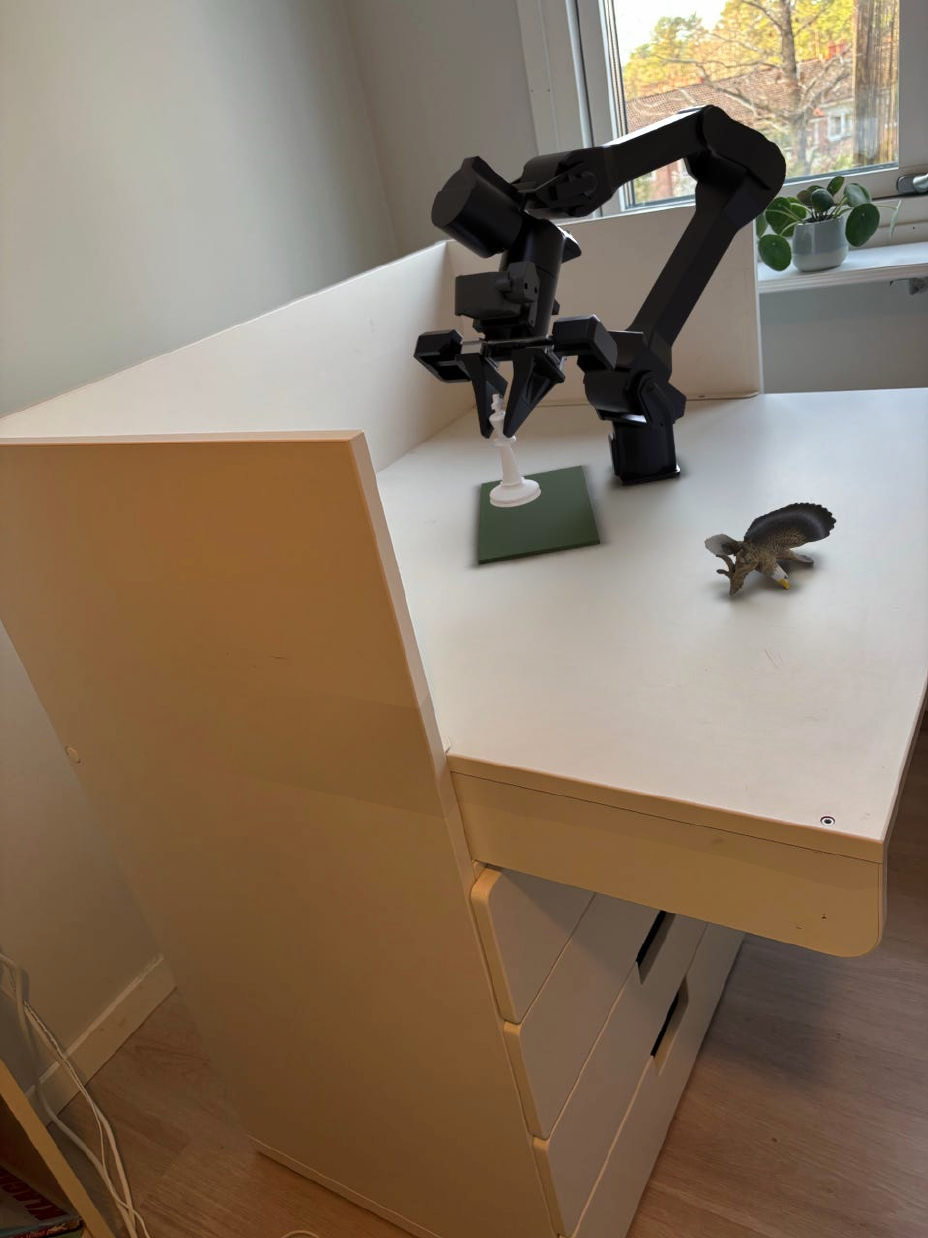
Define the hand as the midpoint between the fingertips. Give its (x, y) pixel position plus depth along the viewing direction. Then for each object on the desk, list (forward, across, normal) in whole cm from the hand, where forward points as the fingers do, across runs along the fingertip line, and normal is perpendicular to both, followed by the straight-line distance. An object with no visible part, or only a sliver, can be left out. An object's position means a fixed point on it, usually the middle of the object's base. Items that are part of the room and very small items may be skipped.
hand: (495, 436), depth 84 cm
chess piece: (+4, 0, +6) cm, 7 cm away
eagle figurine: (+10, +24, +8) cm, 27 cm away
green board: (+1, -4, +17) cm, 18 cm away
